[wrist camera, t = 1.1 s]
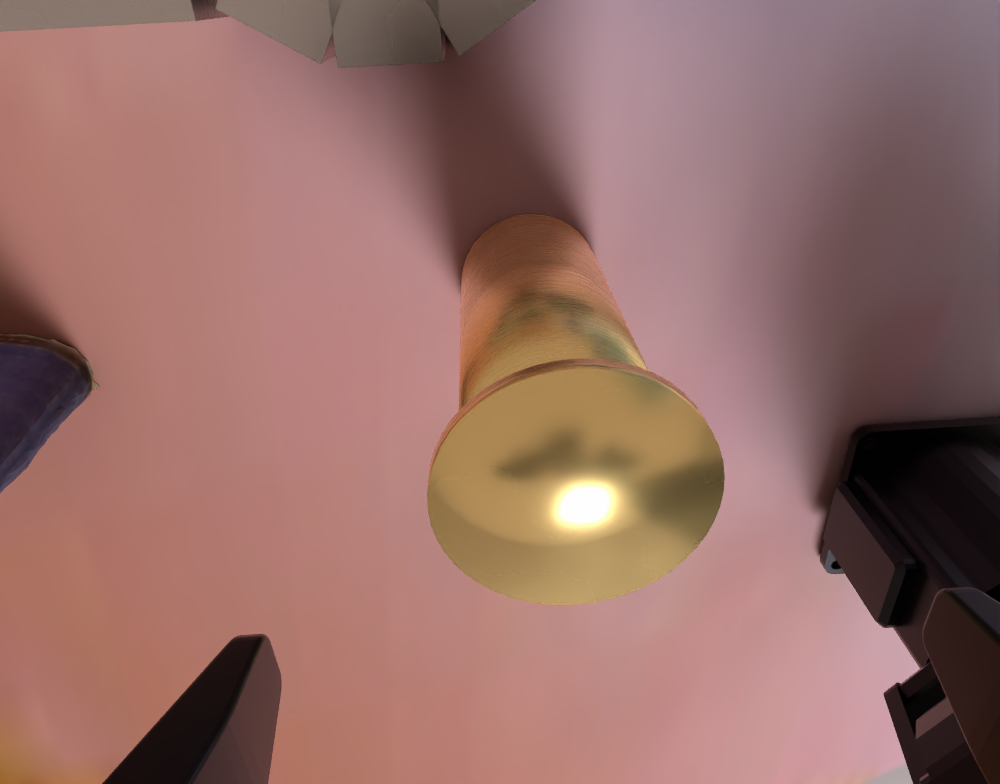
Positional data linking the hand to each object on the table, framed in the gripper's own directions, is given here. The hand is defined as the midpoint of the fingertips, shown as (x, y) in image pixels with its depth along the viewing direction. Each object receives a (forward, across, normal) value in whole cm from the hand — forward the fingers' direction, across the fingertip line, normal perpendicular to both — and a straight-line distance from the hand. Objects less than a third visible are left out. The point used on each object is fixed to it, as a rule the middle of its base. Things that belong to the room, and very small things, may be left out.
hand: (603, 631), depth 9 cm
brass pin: (+13, 0, 0) cm, 13 cm away
